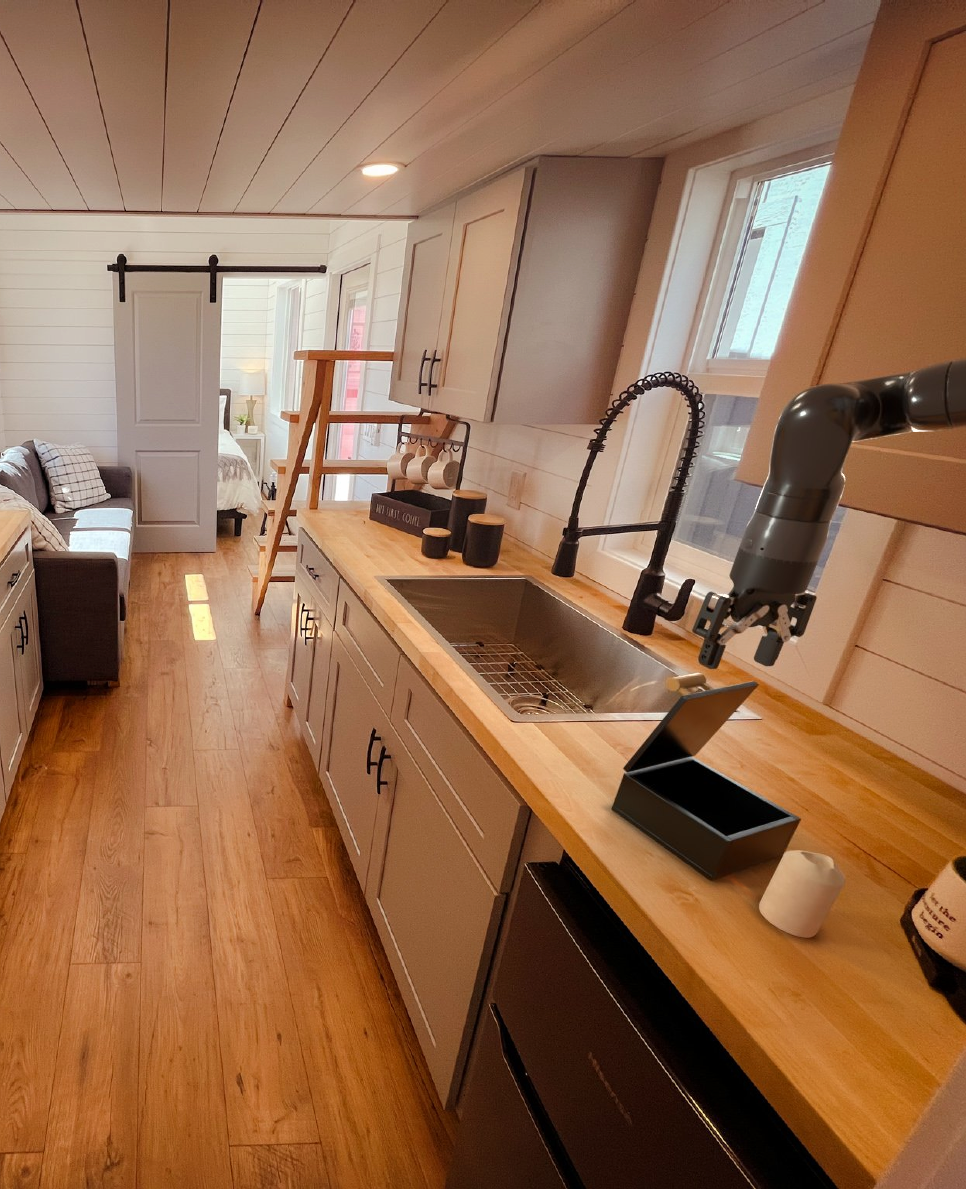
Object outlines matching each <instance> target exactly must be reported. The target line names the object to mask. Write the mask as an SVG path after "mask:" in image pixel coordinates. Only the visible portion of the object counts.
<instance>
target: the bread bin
mask: <svg viewBox="0 0 966 1189" xmlns="http://www.w3.org/2000/svg"><path fill="white" fill-rule="evenodd" d="M610 810H611V811H613V812H614V813H615V814H617V815H619V816H620V817H621V818H623V820H625V821H627V822H628V823H630V824H631V825H632V826H634V827H635V828H636V829H638V830H639V831H641V832H642V833H643V834H645V835H646V836H648V837H649V838H650V839H652V841H654V842H656V843H657V844H658V845H660V846H661V847H662V848H664V849H666V850H667V851H668V852H670V853H671V854H673V856H675V857H677V858H678V859H679V860H681V861H682V862H684V863H685V864H686V865H688V866H689V867H691V868H692V869H693V870H695V871H696V872H698V873H699V874H700V875H702V876H703V877H704V878H706V879H707V880H709V881H710V882H711V881H716V880H718V879H721V878H723V877H724V878H725V877H726V876H729V875H732V874H736V873H739V872H742V871H744V870H747V869H751V868H753V867H756V866H759V865H762V864H765V863H768V862H772V861H774V860H778V859H781V858H782V857H783V855H784V853H785V852H787V851H786V850H787V848H788V846H789V844H790V842H791V841H792V838H793V837H794V834H795V833H796V831H797V829H798V827H799V824H800V823H801V820H802V818H801V817H799V816H798V815H796V814H794V813H792V812H791V811H789V810H787V809H785V808H783V807H782V806H780V805H778V804H776V803H774V802H773V801H771V800H769V799H767V798H766V797H764V796H762V795H760V794H759V793H757V792H755V791H754V790H752V789H750V788H748V787H746V786H745V785H743V784H742V783H740V782H738V781H736V780H734V779H732V778H731V777H729V776H727V775H725V774H724V773H722V772H721V771H718V770H717V769H715V768H713V767H712V766H710V765H708V764H706V763H704V762H703V761H701V760H699V759H698V758H696V757H695V756H692V757H688V758H684V759H680V760H676V761H672V762H668V763H664V764H660V765H656V766H652V767H647V768H643V769H639V770H635V771H631V772H624V773H623V775H622V778H621V781H620V783H619V786H618V789H617V792H616V795H615V797H614V800H613V803H612V806H611V809H610Z"/></svg>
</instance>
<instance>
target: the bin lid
mask: <svg viewBox="0 0 966 1189" xmlns="http://www.w3.org/2000/svg"><path fill="white" fill-rule="evenodd" d="M759 685H760V684H759V683H758V682H757V681H755V680H751V681H747V682H741V683H737V684H732V685H727V686H724V687H717V688H714V687H712V686H711V685H710V684H708V683H707V678H706V676H705V675H704V674H703V673H701V672H693V673H688V674H683V675H678V676H672V677H668V678H667V679H666V681H665V687H666V688H667V689H668V690H669V691H671V692H679V693H680V694H681V696H680V697H679V698H678V700H677V701H676V702H675V703H674V704H673V705H672V707H671V708H670V709H669V711H668V712H667V713H666V715H664V717H663V718H662V719H661V721H660V722H659V723H658V725H656V727H655V728H654V730H652V731H651V733H650V734H649V735H648V736H647V738H646V739H645V740H644V742H642V744H641V745H640V746H639V748H638V749H637V750H636V751H635V753H634V754H632V756H631V757H630V759H629V760H628V761H627V762H626V764H625V765H624V766H623V767H622V769H623V771H625V773H628V772H631V771H635V770H640V769H644V768H648V767H652V766H656V765H660V764H664V763H668V762H672V761H676V760H680V759H684V758H689V757H695V756H697V754H699V753H700V751H701V750H702V749H703V748H704V747H705V746H706V744H707V743H708V742H709V741H710V740H711V739H712V738H713V737H714V736H715V734H716V733H718V731H720V729H721V728H722V727H723V726H724V724H725V723H726V722H727V721H728V720H729V719H730V718H731V717H732V716H733V714H734V713H735V712H737V710H738V709H739V708H740V707H741V706H742V705H743V703H744V702H745V701H746V700H747V699H748V698H749V697H750V696H751V695H752V693H753V692H754V691H755V690H756V689H757V688H758V687H759ZM699 687H700V688H701V689H703V691H697V692H694V693H693V692H691V690H690V689H693V688H699Z"/></svg>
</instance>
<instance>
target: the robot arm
mask: <svg viewBox="0 0 966 1189" xmlns="http://www.w3.org/2000/svg"><path fill="white" fill-rule="evenodd" d="M964 428H966V357H963V358H958V359H954V360H948V361H944V362H938V363H936V364H931V365H928V366H925V367H924V366H923V367H922V368H921V367H920V368H919V369H917V370H915V371H911V372H905V373H904V372H903V373H898V374H891V375H885V376H879V377H875V378H874V377H873V378H869V379H868V378H867V379H861V380H855V381H854V380H853V381H849V382H848V381H847V382H842V383H823V384H818V385H814V386H811V387H808V388H807V389H804V390H802V391H801V392H799V393H797V394H795V396H793V397H792V398H791V399H790V401H789V402H788V403H787V404H786V405H785V407H784V408H783V410H782V411H781V414H780V416H779V418H778V421H777V424H776V426H775V430H774V433H773V438H772V444H771V451H770V458H769V467H768V468H769V470H768V476H767V478H766V480H765V483H764V484H763V487H762V490H761V493H760V496H759V498H758V500H757V503H756V507H755V510H754V512H753V514H752V516H751V518H750V520H749V521H748V523H747V525H746V527H745V530H744V533H743V536H742V539H741V542H740V543H739V546H738V550H737V552H736V555H735V558H734V561H733V563H732V567H731V569H730V572H729V578H730V580H731V582H732V583H733V587H732V588H731V590H730V591H729V592H728V594H720V593H717V592H715V591H708V592H707V593H706V594H705V596H704V599H703V601H702V605H701V606H700V609H699V612H698V614H697V617H696V619H695V622H694V624H693V627H692V630H691V633H692V634H695V635H697V636H699V637H701V638H703V642H702V646H701V648H700V651H699V654H698V657H697V658H698V663H699V665H701V666H703V667H704V668H707V669H709V670H717V669H719V666H720V664H721V661H722V658H723V655H724V652H725V651H726V650H725V649H726V647H727V643H728V642H729V641H730V640H731V639H732V638H733V637H735V635H738V634H739V635H740V634H742V633H744V632H745V631H747V629H748V628H755V627H759V626H760V627H762V630H763V633H764V634H765V635H762V636H761V638H760V640H759V643H758V645H757V648H756V650H755V653H754V656H753V660H754V662H756V663H757V664H760V665H762V666H764V667H774V666H775V664H776V661H777V660H778V658H779V657H780V656H779V655H780V653H781V651H782V648H783V646H784V643H786V642H789V641H790V640H791V638H793V637H797V638H801V637H803V636H804V635H805V632H806V630H807V626H808V623H809V622H810V619H811V615H812V613H813V610H814V607H815V604H816V601H817V598H818V597H817V595H815V594H812V593H810V592H807V590H808V587H809V585H810V582H811V580H812V577H813V576H814V572H815V571H816V567H817V565H818V563H819V560H820V557H821V555H822V553H823V550H824V548H825V545H826V544H827V540H828V536H829V532H830V526H831V523H832V521H833V518H834V515H835V514H836V510H837V509H838V506H839V504H840V501H841V498H842V496H843V493H844V489H845V485H846V477H845V474H843V468H844V465H845V463H846V460H847V457H848V455H849V451H850V448H851V446H852V444H853V443H854V442H861V441H866V440H873V439H878V438H884V437H885V438H886V437H890V436H896V435H902V434H908V433H913V432H938V431H949V430H955V429H964ZM729 618H731V620H732V621H731V620H729ZM793 618H794V619H795V620H796V622H795V625H794V624H791V623H792V620H793ZM708 622H710V624H709V626H708V627H706V625H707V623H708ZM723 628H725V629H724V631H723V632H722V633H720V630H721V629H723Z"/></svg>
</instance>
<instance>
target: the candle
mask: <svg viewBox="0 0 966 1189" xmlns="http://www.w3.org/2000/svg"><path fill="white" fill-rule="evenodd" d="M846 882H847V881H846V877H845V875H844V873H843V872H842V871H841V869H840V868H839V867H838V866H837V864H836V863H835V861H834V859H833V858H832V857H831V856H829V855H827V854H824V853H820V852H813V851H812V852H811V851H807V850H802V849H801V850H800V849H794V850H793V849H792V850H787V851H785V852H784V854H783V856H782V857H781V858H780V861H779V863H778V865H777V866H776V868H775V871H774V873H773V875H772V877H771V879H770V881H769V882H768V885H767V887H766V889H765V891H764V893H763V895H762V897H761V899H760V901H759V903H758V909H759V912H760V914H761V915H762V917H763V918H764V919H765V920H766V921H768V922H769V924H771V925H773V926H774V927H776V928H777V929H779V930H781V931H783V932H784V933H787V934H789V935H792V936H795V937H799V938H806V939H808V938H810V939H811V938H813V937H814V936H816V934H817V933H818V932H819V930H820V929H821V928H822V925H823V923H824V921H825V920H826V918H827V917H828V914H829V913H830V911H831V909H832V908H833V906H834V904H835V902H836V900H837V898H838V896H839V895H840V893H841V891H842V889H843V888H844V886H845V884H846Z"/></svg>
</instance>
